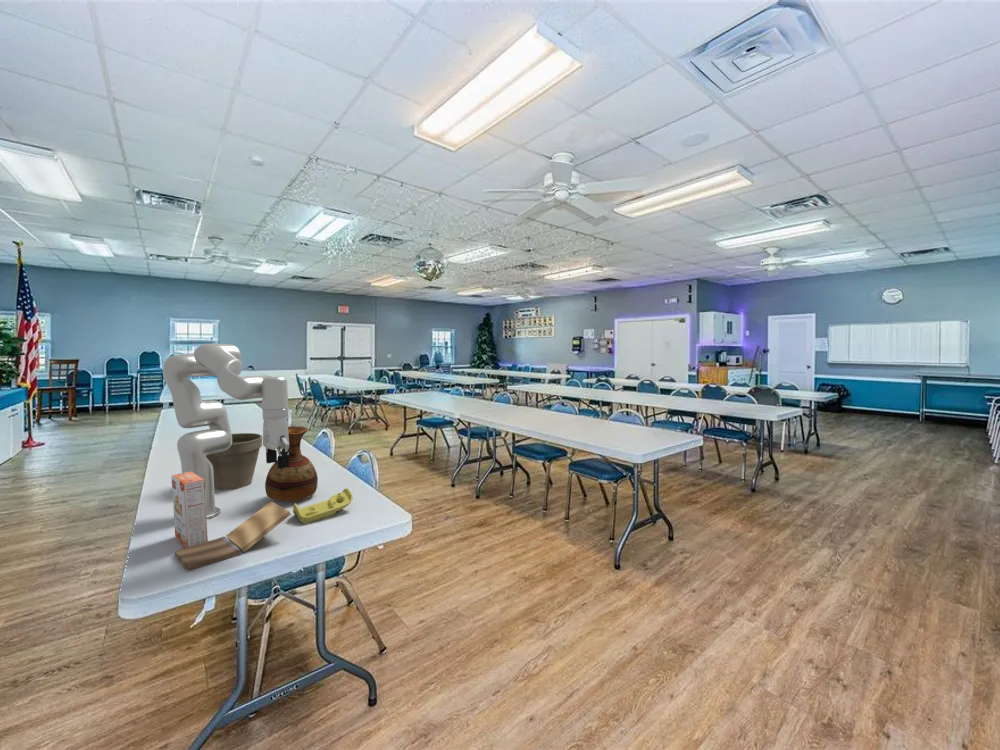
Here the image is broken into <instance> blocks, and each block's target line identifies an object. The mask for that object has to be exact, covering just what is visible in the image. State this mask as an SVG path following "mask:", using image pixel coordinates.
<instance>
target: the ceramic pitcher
mask: <svg viewBox="0 0 1000 750" xmlns="http://www.w3.org/2000/svg"><path fill="white" fill-rule="evenodd" d="M307 432H308V428H307V427H305V426H301V425H298V426H296V425H291V426H288V435H289V467H285V468H278V459H277V462H273V463H272V465H271V467H270V468H269V470H268V473H267V475H266V479H265V483H264V489H265V494H266V496H267V497H268V498H269V499H271V500H274V501H278V502H279V501H280V502H287V503H288V502H298V501H304V499H308V498H309V497H311V496H313V495H314V494H315V493H316V492H317V489H318V484H319V483H318V478H319V477H318V474H317V470H316V467H315V465H314V464H313V462H312V461H311V459H309V458H308V457H306V456H305V455H303V454H302V452H301V442H302V439H303V437H304V435H305V433H307Z"/></svg>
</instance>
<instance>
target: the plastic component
mask: <svg viewBox="0 0 1000 750" xmlns="http://www.w3.org/2000/svg"><path fill="white" fill-rule="evenodd" d="M353 496H354V495H353V493H352V491H350V489H349V487H346V488H344V489H343V490H342V491H341V492H338V493H335V494H333V495H332V496H330V497H329V499H326V500H321V501H320V502H316V503H313V504H310V505H306V506H303V507H299V506H298V504H297V503H294V504H293V508H292V512H293V515H295V516H297V517H298V520H299V521H300V522H301V523H303V524H308V523H313V522H315V521H319V520H321V519H324V518H327V517H331V516H334V515H335V514H336V512H337V511H342V510H344V508H346V507H348V506H349V505H350V504H351V503H352V501H353V498H354V497H353Z"/></svg>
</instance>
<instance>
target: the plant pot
mask: <svg viewBox="0 0 1000 750" xmlns="http://www.w3.org/2000/svg"><path fill="white" fill-rule="evenodd" d="M231 434H232V445H231V447H230V448H229V449H228V450H226V451H223V452H219V453H215V454H210V455H207V456H206V458H207V459H208V460H209V461H210V462H211V463H212V465H213V470H214V490H215V489H216V490H217V491H218V490H219V491H220V490H221V491H224V490H225V491H226V490H237V489H240V488H244V487H246V486H249V485H250V484H252V482H253V478H254V474H255V469H256V467H257V466H256V465H257V462H258V457H259V453H260V449H261V448H262V446H263V434H261V433H252V432H241V433H239V432H238V433H231Z"/></svg>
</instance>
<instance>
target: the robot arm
mask: <svg viewBox="0 0 1000 750" xmlns="http://www.w3.org/2000/svg"><path fill="white" fill-rule="evenodd" d="M241 359H242V353H241V351H240V349H239V348H238V347H237V346H236V345H234V344H231V343H203V344H201V345H199V346H197V347H196V348H195V350H194V352H193V353H179V354H174V355H170V356H168V357H167V358H166V359H165V361H164V363H163V366H162V375H163V379H164V382H165V384H166V386H167V388H168V389H169V392H170V394H171V399H172V403H173V409H174V413H175V417H176V421H177V424H178V426H180V428H182V429H196V428H202V427H208V429H201V430H195V431H190V432H186V433H184V434H183V435H182V436H180V437H179V439H177V443H176V447H177V448H176V449H177V451H178V452H177V453H178V456H179V460H180V466H181V473H187V472H193V473H194V474H196V475H197V476H199V477H201V478H202V479H204V480H205V499H206V519H207V520H209V519H211V518H214V517H217V516H218V515H219V514H220V513H221V508H219V507H217V506H216V499H215V498H216V496H215V494H216V493H215V488H214V470H213V465H212V463H211V462H210V461H209V460H208V459H207V458H206V456H207V455H210V454H215V453H219V452H223V451H226V450H228V449H229V448H230V447H231V445H232V434H233V433H232V431H231V430H232V429H231V425H230V420H229V416H228V412H227V409H226V406H225V405H224V404H223V403H222V402H220V401H219V400H215V399H214V400H213V399H211V400H203V399H202V395H201V391H200V388H199V387H198V386H197V384H196V383H195V382H194V381H193V380H192V379H189V378H195V377H196V378H199V377H202V378H203V377H214V376H216V380H217V385H218V387H219V389H220V390H221V391H222V392H224V393H225V394H226V395H228V396H230V397H231V398H233V399H235V400H238V401H240V400H241V401H243V400H252V399H261V403H262V406H261V407H262V420H263V423H262V446H263V447H264V448H265V458H266V459H265V460H266V461H265V462H266V464H271V463H272V464H274V463H275V462H277V460H278V468H285V467H289V435H288V427H289V426H288V420H287V419H288V418H289V398H288V397H289V396H288V395H289V394H288V380H287V378H286V377H284V376H270V375H252V376H251V375H249V376H248V375H247V376H240V374H241V373H242V370H243V363H242V361H241Z"/></svg>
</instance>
